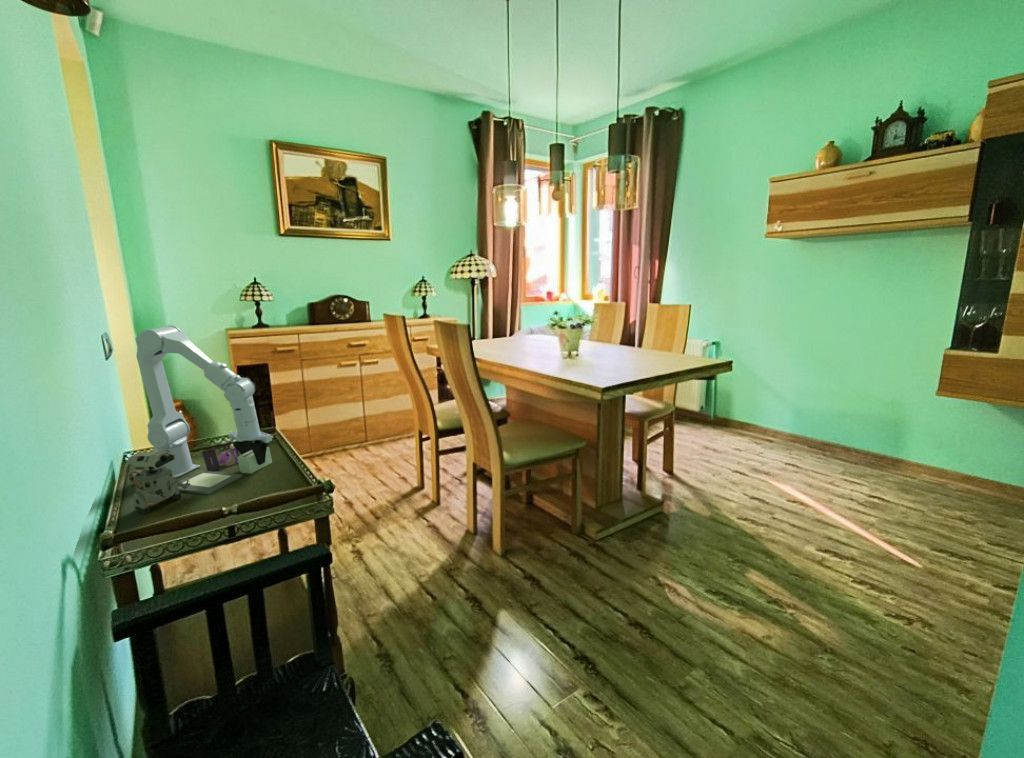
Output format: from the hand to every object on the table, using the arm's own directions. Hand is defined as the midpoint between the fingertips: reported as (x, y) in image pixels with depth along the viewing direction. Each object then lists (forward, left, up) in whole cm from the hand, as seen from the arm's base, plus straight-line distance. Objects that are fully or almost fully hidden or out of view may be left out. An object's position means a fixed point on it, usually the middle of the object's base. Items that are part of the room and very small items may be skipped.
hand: (255, 462), depth 142 cm
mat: (-7, -12, -1) cm, 14 cm away
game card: (-12, -1, -2) cm, 12 cm away
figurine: (-6, -24, -2) cm, 25 cm away
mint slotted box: (0, 0, -1) cm, 1 cm away
